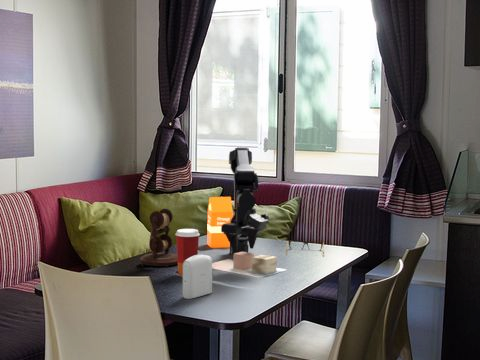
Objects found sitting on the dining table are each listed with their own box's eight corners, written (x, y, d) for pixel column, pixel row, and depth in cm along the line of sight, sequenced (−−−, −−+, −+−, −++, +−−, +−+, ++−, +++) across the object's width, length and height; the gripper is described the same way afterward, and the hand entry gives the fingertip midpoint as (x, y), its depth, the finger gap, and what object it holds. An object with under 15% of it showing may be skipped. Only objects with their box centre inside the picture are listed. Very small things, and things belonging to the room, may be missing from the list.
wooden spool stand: (151, 259, 277) (152, 205, 275) (188, 263, 272) (188, 208, 270) (132, 267, 263) (132, 211, 261) (170, 271, 258) (170, 214, 256)
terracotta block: (233, 267, 261) (233, 253, 261) (241, 265, 265) (242, 251, 265) (244, 270, 258) (244, 255, 258) (253, 267, 262) (253, 253, 261)
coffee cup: (203, 272, 257) (203, 229, 256) (193, 277, 250) (194, 233, 248) (180, 270, 260) (180, 227, 259) (170, 275, 252) (171, 231, 251)
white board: (199, 268, 263) (199, 265, 263) (228, 261, 276) (228, 258, 276) (261, 280, 247) (261, 277, 247) (288, 272, 260) (288, 269, 260)
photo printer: (190, 300, 222) (191, 258, 221) (180, 297, 225) (180, 256, 223) (214, 293, 230) (214, 253, 228) (203, 291, 232) (204, 251, 231)
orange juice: (207, 244, 309) (207, 195, 307) (228, 243, 311) (228, 195, 309) (210, 247, 302) (211, 198, 300) (232, 247, 304) (233, 198, 302)
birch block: (251, 271, 256) (252, 257, 255) (262, 268, 260) (262, 254, 260) (266, 274, 252) (266, 259, 251) (276, 271, 257) (276, 256, 256)
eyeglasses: (323, 250, 302) (323, 241, 301) (323, 258, 288) (323, 248, 287) (287, 249, 303) (288, 239, 303) (286, 256, 289) (286, 246, 289)
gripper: (246, 211, 247) (245, 257, 249) (279, 205, 262) (278, 249, 264) (220, 207, 254) (219, 253, 256) (253, 202, 269) (252, 245, 270)
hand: (243, 250), depth 261 cm, fingers open, 9 cm apart
